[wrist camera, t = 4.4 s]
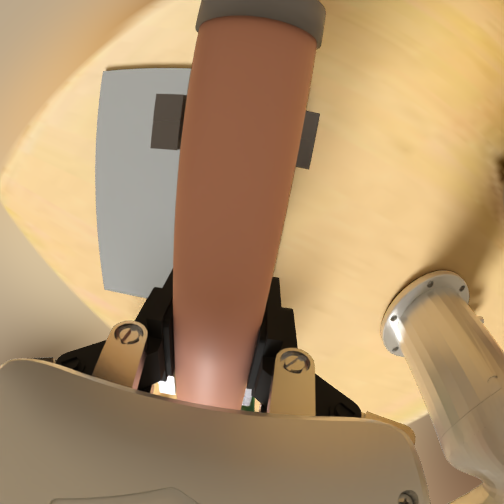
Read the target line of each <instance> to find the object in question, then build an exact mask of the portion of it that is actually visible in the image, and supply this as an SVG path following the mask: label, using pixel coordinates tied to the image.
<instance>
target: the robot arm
mask: <svg viewBox="0 0 504 504" xmlns="http://www.w3.org/2000/svg"><path fill="white" fill-rule="evenodd" d="M468 303H469V290H468V287H467V284H466V283H465V281H464V280H463V279H462V278H461V277H460V276H459V275H458V274H456V273H454V272H452V271H447V270H442V271H435V272H431V273H428V274H426V275H424V276H422V277H420V278H418V279H417V280H415V281H413V282H412V283H411V284H409V285H408V286H407V287H406V288H405V289H403V290H402V291H401V292H400V293H399V295H398V296H397V297H396V298H395V299H394V300H393V302H392V303H391V304H390V306H389V307H388V309H387V311H386V313H385V315H384V318H383V321H382V324H381V338H382V340H383V343H384V345H385V347H386V349H387V350H388V351H389V352H390V353H392V354H394V355H396V356H401V357H405V359H406V361H407V363H408V366H409V368H410V370H411V372H412V374H413V377H414V379H415V381H416V383H417V386H418V388H419V390H420V393H421V395H422V398H423V400H424V402H425V405H426V407H427V410H428V412H429V415H430V417H431V420H432V422H433V425H434V428H435V430H436V433H437V436H438V438H439V441H440V444H441V447H442V450H443V453H444V455H445V457H446V459H447V460H448V462H449V463H450V464H451V465H452V466H453V467H455V468H456V469H458V470H460V471H462V472H465V473H467V474H470V475H472V476H475V477H477V478H479V479H481V480H482V481H483V482H482V483H481V484H480V485H479V486H477V487H476V488H474V489H473V490H471V491H470V492H469V493H467V494H465V495H463V496H461V497H459V498H457V499H456V500H454V501H452V502H450V503H448V504H504V352H503V350H502V349H501V348H500V346H499V345H498V343H497V342H496V341H495V339H494V338H493V336H492V335H491V334H490V332H489V331H488V330H487V328H486V327H485V326H484V324H483V323H484V319H483V317H481V316H477V315H476V314H475V313H474V312H473V310H472V309H471V308H470V307H469V306H468ZM174 370H175V360H174V335H173V269H172V271H171V273H170V274H169V276H168V278H167V280H166V282H165V284H164V285H163V287H162V288H159V287H154V288H153V290H152V291H151V293H150V295H149V296H148V298H147V300H146V302H145V303H144V305H143V307H142V309H141V311H140V312H139V314H138V316H137V318H136V320H135V321H123V322H120V323H118V324H116V325H115V326H114V327H113V328H112V330H111V331H110V334H109V336H108V338H107V340H105V341H102V342H99V343H96V344H92V345H90V346H86V347H83V348H80V349H77V350H74V351H71V352H67V353H65V354H63V355H61V356H60V357H59V358H58V359H57V360H54V358H53V357H51V358H50V357H49V358H17V359H11V360H9V361H7V362H5V363H3V364H2V365H1V366H0V504H431V502H430V496H429V491H428V487H427V482H426V478H425V475H424V471H423V468H422V464H421V461H420V458H419V456H418V453H417V451H416V448H415V446H414V445H415V434H414V432H413V430H412V429H411V428H410V427H408V426H406V425H404V424H401V423H398V422H395V421H392V420H389V419H387V418H384V417H381V416H378V415H376V414H373V413H370V412H368V411H367V412H366V413H362V412H361V410H360V408H359V407H358V405H357V404H355V403H354V402H353V401H352V400H350V399H349V398H348V397H346V396H345V395H343V394H342V393H341V392H339V391H338V390H337V389H335V388H334V387H333V386H331V385H330V384H328V383H327V382H326V381H324V380H323V379H322V378H320V377H319V376H318V375H316V374H315V364H314V360H313V359H312V357H311V356H310V355H309V354H308V353H307V352H305V351H303V350H301V349H298V348H297V339H296V330H295V322H294V313H293V309H290V308H283V307H281V297H280V284H279V278H276V277H272V281H271V285H270V290H269V294H268V299H267V303H266V308H265V312H264V316H263V320H262V324H261V326H260V331H259V335H258V339H257V343H256V348H255V352H254V356H253V360H252V364H251V368H250V372H249V376H248V380H247V389H252V393H251V397H255V398H256V399H257V400H258V401H259V402H260V403H261V404H260V408H259V412H252V411H244V410H236V409H228V408H221V407H215V406H209V405H203V404H198V403H192V402H187V401H182V400H177V399H173V398H168V397H164V396H160V395H155V394H153V392H154V384H155V383H157V382H160V381H163V382H166V381H167V378H168V375H170V376H173V373H174Z"/></svg>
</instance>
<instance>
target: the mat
mask: <svg viewBox="0 0 504 504" xmlns="http://www.w3.org/2000/svg"><path fill="white" fill-rule="evenodd" d="M190 74H191V69H189V68H144V69H125V70H112V71H103V76H102V83H101V90H100V99H99V109H98V120H97V136H96V166H95V182H96V213H97V229H98V241H99V251H100V260H101V268H102V276H103V283H104V289H105V290H109V291H114V292H119V293H123V294H128V295H133V296H138V297H143V298H148V296H149V295H150V293H151V291H152V290H153V288H154V287H159V288H162V287H163V285H164V284H165V282H166V280H167V278H168V276H169V274H170V273H171V271H172V269H173V253H174V227H175V208H176V193H177V180H178V169H179V158H180V149H179V150H167V149H153V148H150V147H151V136H152V125H153V116H154V107H155V99H156V94H183V95H187V93H188V87H189V80H190Z"/></svg>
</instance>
